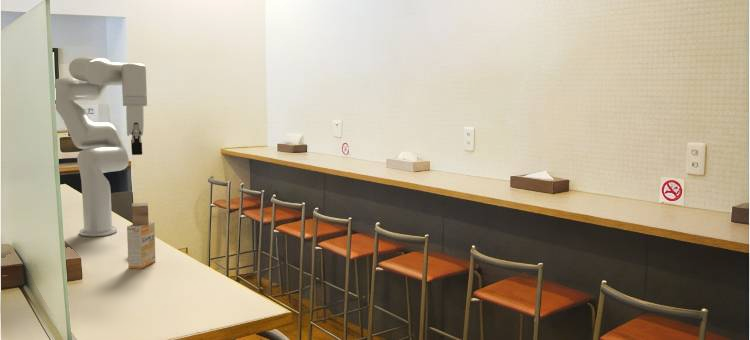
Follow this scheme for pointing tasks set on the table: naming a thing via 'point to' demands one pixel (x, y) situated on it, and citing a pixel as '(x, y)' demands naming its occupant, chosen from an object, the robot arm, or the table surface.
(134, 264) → the supplement box
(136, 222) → the walnut block
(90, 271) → the table surface
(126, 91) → the robot arm
